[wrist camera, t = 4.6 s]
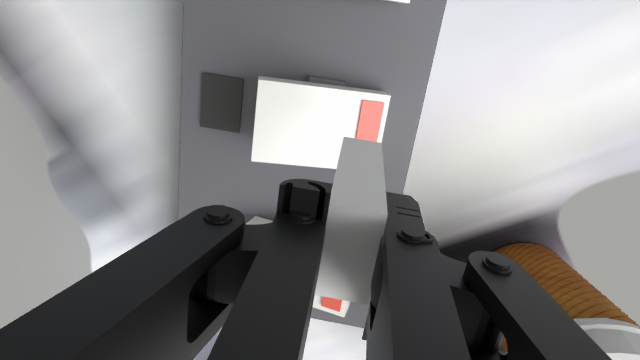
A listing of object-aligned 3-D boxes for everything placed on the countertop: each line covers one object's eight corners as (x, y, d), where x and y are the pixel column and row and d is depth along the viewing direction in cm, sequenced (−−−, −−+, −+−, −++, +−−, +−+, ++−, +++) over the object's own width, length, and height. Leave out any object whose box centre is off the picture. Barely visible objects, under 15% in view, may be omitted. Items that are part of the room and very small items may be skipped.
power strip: (211, -168, 24) (183, -200, 20) (468, -134, 23) (485, -161, 20) (192, 268, 34) (172, 297, 30) (371, 301, 33) (371, 335, 30)
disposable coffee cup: (450, 335, 33) (490, 494, 22) (452, 223, 30) (499, 343, 19) (583, 335, 32) (696, 504, 21) (599, 218, 29) (743, 343, 18)
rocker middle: (258, 75, 23) (258, 80, 22) (384, 91, 24) (391, 96, 23) (251, 154, 25) (251, 162, 23) (370, 165, 26) (376, 173, 25)
